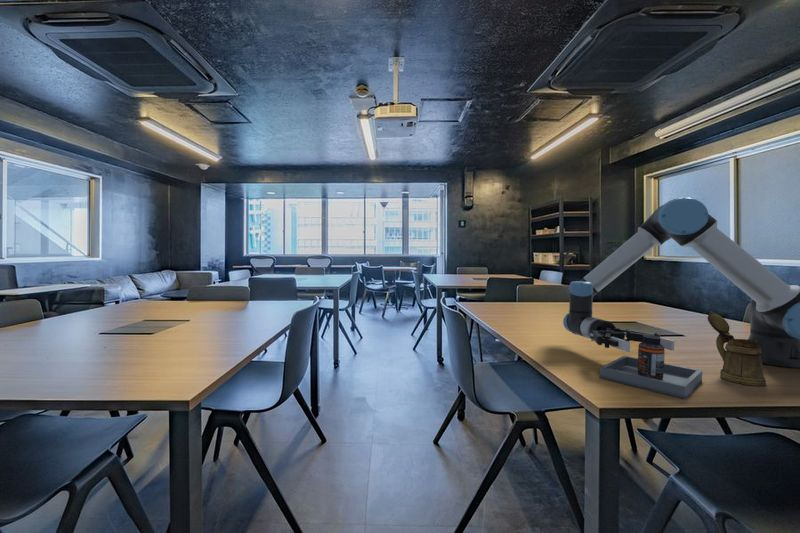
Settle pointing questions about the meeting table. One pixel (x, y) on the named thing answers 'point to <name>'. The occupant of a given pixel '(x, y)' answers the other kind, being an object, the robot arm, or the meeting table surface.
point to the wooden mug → (737, 355)
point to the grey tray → (672, 383)
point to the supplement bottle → (651, 357)
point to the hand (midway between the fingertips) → (651, 346)
